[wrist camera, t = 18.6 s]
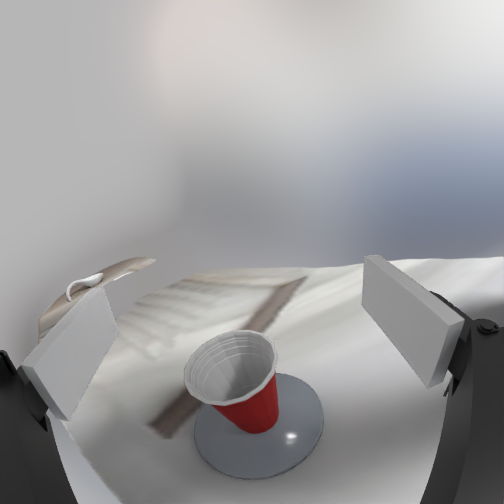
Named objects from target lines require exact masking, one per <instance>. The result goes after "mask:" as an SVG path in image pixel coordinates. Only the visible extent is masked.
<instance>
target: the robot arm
mask: <svg viewBox="0 0 504 504" xmlns="http://www.w3.org/2000/svg"><path fill="white" fill-rule="evenodd" d="M361 305H362V306H363V308H364V309H365V310H366V311H367V312H368V314H369V315H370V316H371V317H372V318H373V320H374V321H375V322H376V323H377V325H378V326H379V327H380V328H381V329H382V331H383V332H384V333H385V334H386V336H387V337H388V338H389V339H390V341H391V342H392V343H393V344H394V346H395V347H396V348H397V349H398V351H399V352H400V353H401V355H402V356H403V357H404V358H405V360H406V361H407V362H408V364H409V365H410V366H411V368H412V369H413V370H414V371H415V373H416V374H417V375H418V377H419V378H420V379H421V381H422V382H423V383H424V385H425V386H426V387H427V389H428V388H430V387H432V386H434V385H437V384H439V383H441V382H443V380H444V377H445V375H446V372H447V370H449V371H450V372H451V374H452V378H451V380H450V382H449V384H448V386H447V389H446V391H445V393H444V395H443V396H445V397H446V395H447V393H448V400H447V406H446V412H445V418H444V423H443V428H442V433H441V438H440V442H439V446H438V450H437V454H436V457H435V461H434V464H433V468H432V471H431V474H430V477H429V480H428V483H427V486H426V489H425V492H424V494H423V497H422V499H421V502H420V504H504V327H501V328H499V326H498V325H497V324H496V323H494V322H492V321H490V320H487V319H477V320H474V321H473V320H472V319H471V318H469V317H468V316H467V315H466V314H464V313H463V312H462V311H460V310H459V309H458V308H457V307H454V305H453V304H451V303H450V302H448V301H447V300H446V299H445V298H444V297H442V296H441V295H439V294H437V293H434V292H432V291H428V290H427V289H425V288H424V287H423V286H421V285H420V284H419V283H417V282H416V281H414V280H413V279H412V278H410V277H409V276H408V275H406V274H405V273H403V272H402V271H401V270H399V269H398V268H396V267H395V266H394V265H392V264H391V263H389V262H388V261H386V260H385V259H384V258H382V257H381V256H379V255H378V254H375V255H368V256H364V272H363V290H362V304H361ZM118 334H119V330H118V327H117V325H116V322H115V319H114V317H113V314H112V311H111V308H110V305H109V302H108V299H107V296H106V293H105V290H104V287H98V288H92V289H91V290H90V291H89V292H88V293H87V294H86V295H85V296H84V297H83V298H81V299H80V300H79V301H78V302H77V303H76V304H75V306H74V307H73V308H72V309H71V310H70V311H69V312H68V313H67V314H66V315H65V316H64V317H63V318H62V319H61V320H60V321H59V322H58V323H57V324H56V325H55V326H54V327H53V328H52V330H51V331H50V332H49V333H48V334H47V335H46V336H45V337H44V338H43V339H42V341H41V342H40V343H39V344H38V345H37V346H36V347H35V349H34V350H33V351H32V352H31V353H30V354H29V355H28V357H27V358H26V359H25V360H24V361H23V363H22V364H21V366H20V367H19V368H18V369H17V370H16V368H15V367H14V365H13V363H12V361H11V360H10V358H9V356H8V354H7V352H5V351H4V350H0V504H78V503H77V500H76V498H75V496H74V493H73V491H72V489H71V486H70V484H69V481H68V479H67V476H66V473H65V471H64V468H63V465H62V462H61V459H60V455H59V452H58V450H57V446H56V442H55V438H54V435H53V431H52V427H51V422H50V419H49V417H48V416H47V415H46V412H47V410H48V408H49V409H50V411H51V412H52V413H53V415H54V416H55V417H56V418H57V419H61V420H65V421H69V422H70V420H71V418H72V416H73V414H74V412H75V410H76V408H77V406H78V404H79V402H80V400H81V398H82V396H83V395H84V393H85V391H86V389H87V387H88V385H89V384H90V382H91V380H92V378H93V376H94V375H95V373H96V371H97V369H98V368H99V366H100V364H101V362H102V361H103V359H104V357H105V355H106V354H107V352H108V350H109V349H110V347H111V345H112V344H113V342H114V340H115V339H116V337H117V335H118Z"/></svg>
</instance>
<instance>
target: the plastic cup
mask: <svg viewBox="0 0 504 504" xmlns="http://www.w3.org/2000/svg"><path fill="white" fill-rule="evenodd" d="M277 360H278V354H277V351H276V348H275V345H274V342H273V341H271V340H270V339H269V338H268V337H267V336H265V335H264V334H263V333H259V332H255V331H252V330H237V331H230V332H227V333H224V334H221V335H218V336H216V337H214V338H212V339H211V340H209V341H207V342H206V343H204V344H202V345H201V346H200V347H199V348H198V349H197V350H196V351H195V352H194V353H193V354H192V355H191V357H190V359H189V361H188V363H187V365H186V367H185V369H184V384H185V385H186V387H187V389H188V391H189V393H190V394H191V395H192V396H194V397H195V398H197V399H199V400H200V401H202V402H204V403H206V404H210V405H212V406H213V407H214V408H215V409H216V410H217V411H219V412H220V413H221V414H222V415H223V416H225V417H226V418H227V419H228V420H229V421H231V422H233V423H234V424H235V425H236V426H237V427H239V428H240V429H241V430H243V431H246V432H248V433H252V434H259V433H262V432H266V431H267V430H269V429H270V428H272V427H273V426H274V425H275V423H276V422H277V420H278V416H279V407H278V394H277V386H276V378H275V374H276V372H275V369H276V365H277Z"/></svg>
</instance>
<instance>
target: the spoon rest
mask: <svg viewBox="0 0 504 504" xmlns="http://www.w3.org/2000/svg"><path fill="white" fill-rule="evenodd" d="M102 277H103V273H98V274H95V275H93V276H90V277H88V278H86V279H82V280H77V281H74V282H72V283H71V284H70V285H69V286H68V288H67V291H66V295H67V299H68V301H72V300H71V297H70V289H71V287H72V286H73V285H74V284H82V285H85V286H88V287H93V286H95V285H97V284H99V283H100V281H101V280H102Z"/></svg>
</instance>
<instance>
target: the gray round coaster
mask: <svg viewBox="0 0 504 504" xmlns="http://www.w3.org/2000/svg"><path fill="white" fill-rule="evenodd" d="M275 378H276V386H277V394H278V407H279V416H278V420H277V422H276V423H275V425H274V426H273V427H272V428H270V429H269V430H267V431H266V432H262V433H259V434H252V433H248V432H246V431H243V430H241V429H240V428H239V427H237V426H236V425H235V424H234V423H233V422H231V421H229V420H228V419H227V418H226V417H225V416H223V415H222V414H221V413H220V412H219V411H217V410H216V409H215V408H214V407H213V406H212V405H210V404H206V403H205V405H204V406H203V408H202V409H201V411H200V413H199V415H198V417H197V420H196V423H195V429H194V437H195V443H196V445H197V448H198V450H199V452H200V454H201V455H202V456H203V458H204V459H205V460H206V461H207V462H208V463H210V464H211V465H212V466H213V467H214V468H215V469H217V470H218V471H220V472H222V473H224V474H226V475H228V476H231V477H235V478H240V479H251V480H256V479H265V478H269V477H273V476H276V475H279V474H282V473H284V472H286V471H288V470H290V469H292V468H293V467H295V466H296V465H298V464H299V463H301V462H302V461H303V460H304V459H305V458H306V457H307V456H308V455H309V454H310V453H311V452H312V450H313V449H314V447H315V446H316V444H317V443H318V441H319V438H320V436H321V433H322V429H323V422H324V419H323V411H322V407H321V402H320V400H319V398H318V396H317V394H316V393H315V391H314V390H313V389H312V388H311V387H310V386H309V385H308V384H307V383H305V382H304V381H302V380H300V379H298V378H296V377H293V376H290V375H286V374H280V373H276V374H275Z"/></svg>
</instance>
